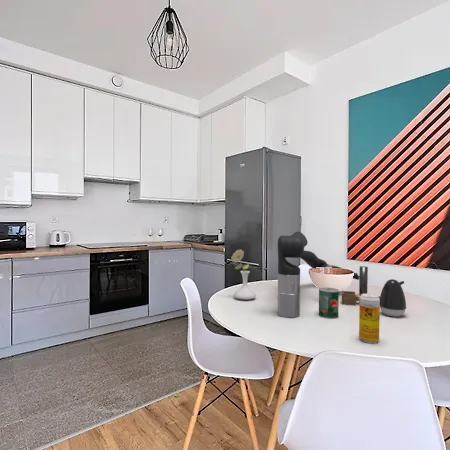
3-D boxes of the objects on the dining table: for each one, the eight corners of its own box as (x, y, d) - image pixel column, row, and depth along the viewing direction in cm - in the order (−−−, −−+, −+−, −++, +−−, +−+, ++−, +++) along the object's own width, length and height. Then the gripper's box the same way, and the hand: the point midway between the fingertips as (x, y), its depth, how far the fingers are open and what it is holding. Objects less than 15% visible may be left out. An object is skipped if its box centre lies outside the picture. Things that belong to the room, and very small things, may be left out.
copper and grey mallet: (382, 305, 145) (382, 268, 145) (345, 302, 150) (345, 266, 150) (381, 303, 149) (381, 267, 149) (345, 300, 154) (345, 265, 154)
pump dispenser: (412, 318, 129) (413, 281, 129) (389, 319, 127) (390, 281, 127) (395, 311, 139) (395, 276, 139) (373, 311, 137) (374, 277, 137)
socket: (355, 305, 147) (355, 295, 147) (342, 304, 149) (342, 293, 149) (354, 301, 154) (354, 291, 154) (341, 300, 156) (341, 290, 156)
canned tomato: (338, 319, 126) (338, 292, 126) (318, 317, 129) (318, 290, 128) (338, 314, 133) (338, 288, 133) (319, 312, 136) (319, 287, 136)
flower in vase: (250, 295, 166) (251, 248, 165) (259, 300, 155) (260, 250, 155) (227, 296, 162) (228, 248, 161) (235, 302, 151) (235, 250, 151)
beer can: (359, 342, 102) (360, 296, 102) (358, 336, 108) (359, 292, 108) (380, 345, 100) (380, 298, 100) (378, 338, 106) (378, 294, 106)
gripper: (322, 266, 174) (338, 271, 158) (345, 265, 177) (363, 270, 161) (322, 279, 174) (338, 285, 158) (345, 278, 177) (363, 284, 161)
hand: (351, 277), depth 159 cm, fingers open, 8 cm apart
